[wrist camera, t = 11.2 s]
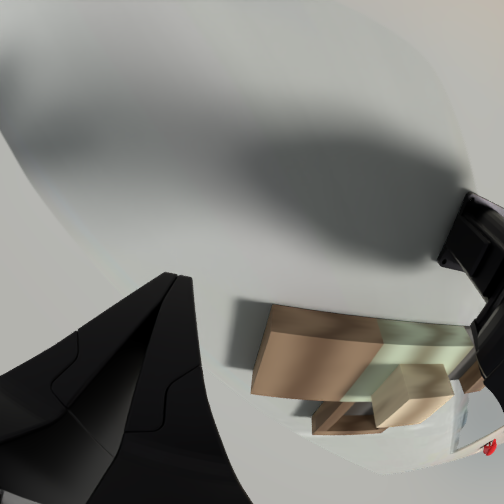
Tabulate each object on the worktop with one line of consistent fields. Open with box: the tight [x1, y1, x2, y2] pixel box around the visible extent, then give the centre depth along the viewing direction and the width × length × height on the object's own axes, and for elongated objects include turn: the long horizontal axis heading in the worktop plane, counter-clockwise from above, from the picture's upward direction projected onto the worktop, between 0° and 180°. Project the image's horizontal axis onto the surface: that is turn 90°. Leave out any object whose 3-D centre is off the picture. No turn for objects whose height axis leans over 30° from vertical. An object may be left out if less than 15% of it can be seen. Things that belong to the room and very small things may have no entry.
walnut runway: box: [251, 304, 485, 435], centre depth 27 cm, size 34×20×3 cm, turn 81°
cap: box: [483, 439, 497, 456], centre depth 59 cm, size 8×6×6 cm
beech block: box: [371, 364, 454, 428], centre depth 22 cm, size 6×6×4 cm
